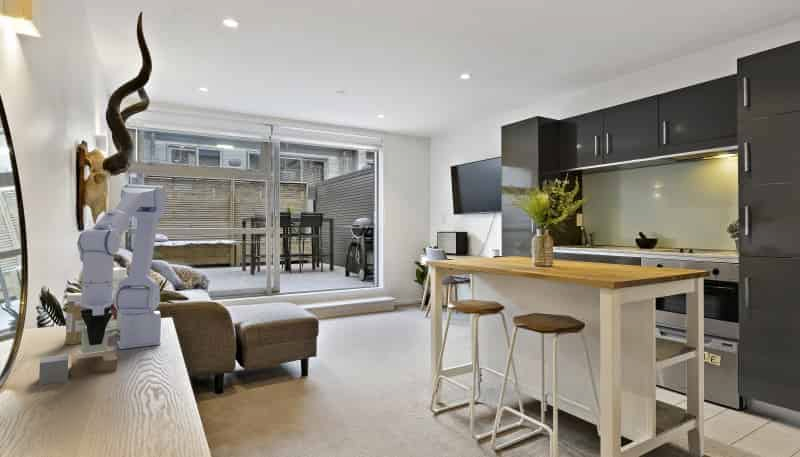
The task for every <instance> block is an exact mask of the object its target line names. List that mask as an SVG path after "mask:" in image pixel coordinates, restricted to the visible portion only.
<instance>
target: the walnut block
mask: <svg viewBox="0 0 800 457" xmlns="http://www.w3.org/2000/svg"><path fill="white" fill-rule="evenodd" d="M117 370H118V357H117V355H116V352H115V349H114V350H107V351H98V352H90V353H80V354H72V355H71V378H75V377H80V376H81V377H83V376H89V375H97V374H103V373H110V372H116V371H117Z"/></svg>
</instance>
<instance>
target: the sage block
mask: <svg viewBox="0 0 800 457" xmlns="http://www.w3.org/2000/svg"><path fill="white" fill-rule="evenodd" d="M108 332H109V331H108V330H107V327H106V330H105V333H104V338H103V341H102V344H99V345H90V344H89V339H88V332H87V327H86V329H82V343H81V354H87V353H96V352H104V351H108V339H109V336H108Z"/></svg>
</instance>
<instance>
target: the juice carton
mask: <svg viewBox="0 0 800 457" xmlns="http://www.w3.org/2000/svg"><path fill="white" fill-rule="evenodd" d="M126 277H127V268H126V267H116V266H113V288H112V300H113V299H114V295H115V292H116V290H117V287H118V283H119V282H120V281H122V280H123V279H125V278H126ZM108 307H110V311H109V313H113V315H112V317H111V318H110V320H109V322H108V324H107V326H106V327H107V330H108V332H112V331H115V330H116V328H117V309H116V308H115V307H114V303H113V304H112V305H110V306H108Z"/></svg>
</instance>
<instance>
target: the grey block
mask: <svg viewBox="0 0 800 457" xmlns="http://www.w3.org/2000/svg"><path fill="white" fill-rule="evenodd" d="M68 369H69V354H59V355H52V356H51V355H50V356H42V357H40V361H39V375H38V376H39V377H38V385H39V386H41V385H42V386H43V385H49V384H54V383H61V382H68V372H69V370H68Z"/></svg>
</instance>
